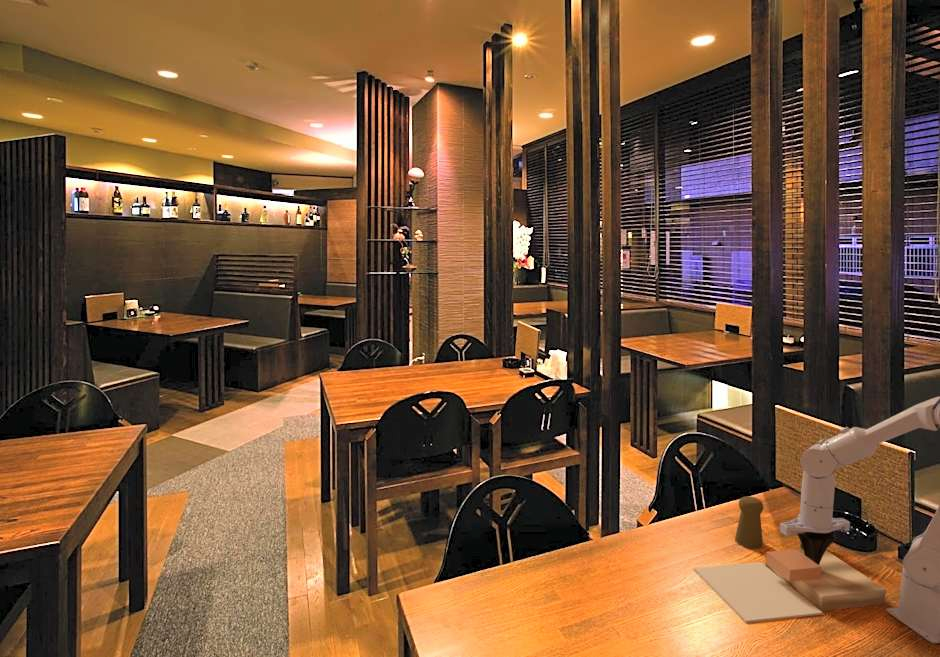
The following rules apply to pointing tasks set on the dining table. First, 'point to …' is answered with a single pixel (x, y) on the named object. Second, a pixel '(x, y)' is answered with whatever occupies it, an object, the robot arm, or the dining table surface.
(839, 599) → the serving board
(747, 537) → the cork
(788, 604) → the mat
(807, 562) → the coaster
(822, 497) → the robot arm
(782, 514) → the dining table surface
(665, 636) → the dining table surface
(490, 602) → the dining table surface
